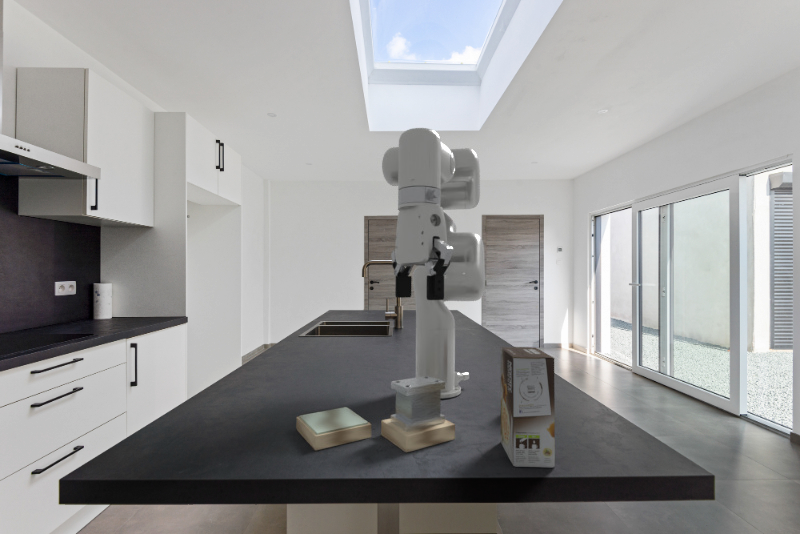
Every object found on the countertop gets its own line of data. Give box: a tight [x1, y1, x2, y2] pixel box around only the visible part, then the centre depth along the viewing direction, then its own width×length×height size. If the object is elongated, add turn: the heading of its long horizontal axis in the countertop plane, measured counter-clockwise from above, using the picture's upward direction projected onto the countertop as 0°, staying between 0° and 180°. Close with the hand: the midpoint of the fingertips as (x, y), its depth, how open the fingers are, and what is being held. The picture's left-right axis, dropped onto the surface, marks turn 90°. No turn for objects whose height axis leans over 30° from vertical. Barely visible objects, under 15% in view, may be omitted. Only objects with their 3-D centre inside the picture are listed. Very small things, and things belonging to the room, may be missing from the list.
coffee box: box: [499, 346, 556, 469], centre depth 61 cm, size 9×6×16 cm
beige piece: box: [380, 417, 456, 453], centre depth 66 cm, size 10×8×2 cm
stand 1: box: [295, 406, 372, 451], centre depth 68 cm, size 10×10×2 cm
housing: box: [390, 376, 446, 432], centre depth 67 cm, size 8×5×7 cm, turn 122°
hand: (418, 298), depth 67 cm, fingers open, 9 cm apart
